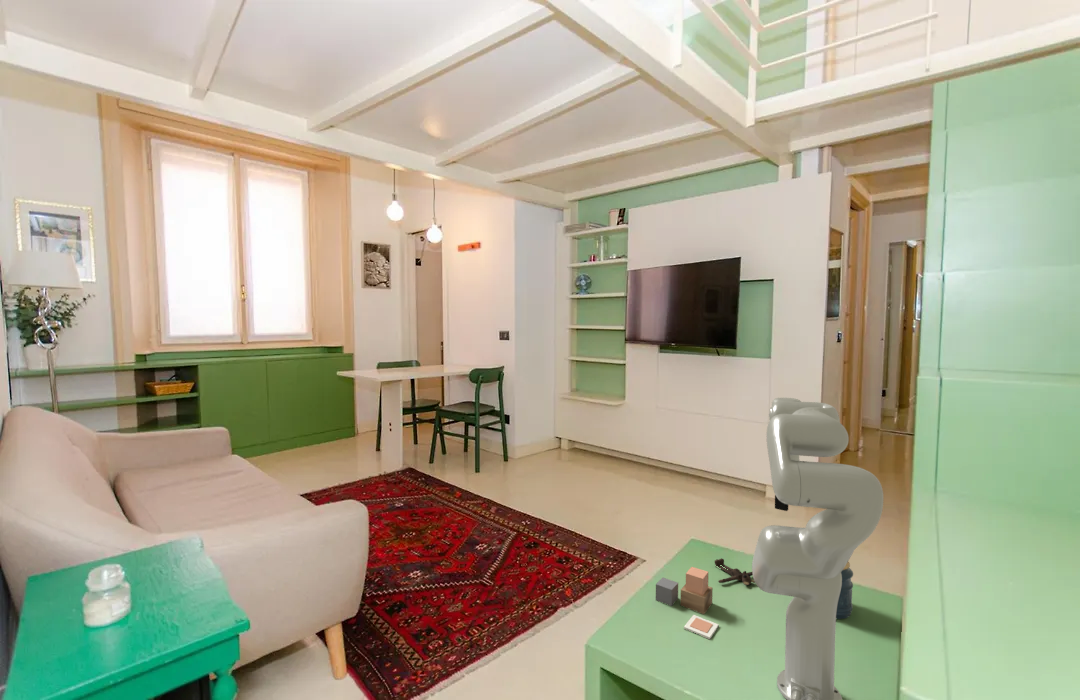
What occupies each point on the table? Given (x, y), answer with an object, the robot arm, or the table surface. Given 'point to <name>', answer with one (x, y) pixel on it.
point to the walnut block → (696, 600)
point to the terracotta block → (697, 581)
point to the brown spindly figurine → (734, 573)
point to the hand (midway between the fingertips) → (785, 504)
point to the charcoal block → (667, 591)
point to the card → (701, 626)
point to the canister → (845, 594)
